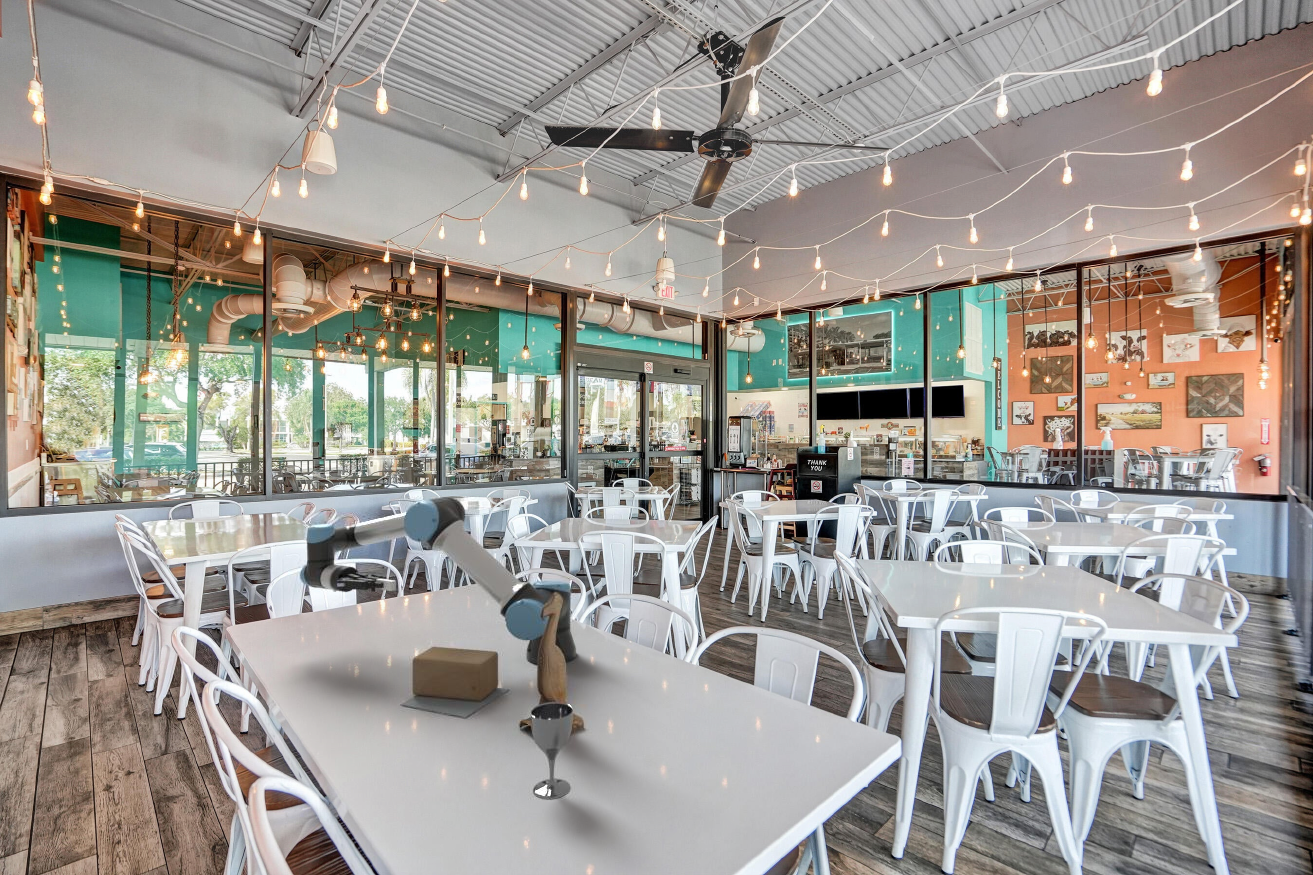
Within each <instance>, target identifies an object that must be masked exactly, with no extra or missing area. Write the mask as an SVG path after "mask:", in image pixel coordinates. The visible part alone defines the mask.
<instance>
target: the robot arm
mask: <svg viewBox="0 0 1313 875" xmlns="http://www.w3.org/2000/svg"><path fill="white" fill-rule="evenodd" d="M465 520H466V510H465V507H464V506H463V503H461V501H459V500H458V499H457V498H454V497H451V496H444V497H436V498H432V499H422V500H419V501H417V502H414V503H413V504H411V505H410V506H409V507H408V508H407V510H406V512H403V513H399V514H393V515H389V516H385V517H381V518H376V519H372V520H369V521H368V520H367V521H364V522H359V523H354V524H349V525H346V526H340V527H336V528H335V526H334V525H333V524H330V523H327V524H326V523H323V524H314V525H310V526H309V527H308V528H307V530H306V531H307V533H306V560H307V562H306V564H305V565H303V567H301V570H300V572H299V579H300V581H301V583H302V584H303V585H306V586H309V587H311V588H315V589H324V590H332V591H333V592H342V593H349V592H352V591H354V590H357V591H358V590H359V591H368V590H369V589H370V591H371V593H372V592H376V590H382V591H387V592H388V591H389V592H395V591H396V590H397V584H396V582H397V581H396V580H395V579H393V580H392V579H388V576H384V575H383V574H382V575H381V574H378V573H377V572H371V573H370V574H368V573H363V572H360V571H358V569H357V568H355V567H353V566H347V565H343V564H342V565H341V564H335V553H337V552H342V551H346V550H350V549H356V548H360V547H363V546H368V545H371V544H377V543H381V542H387V541H391V540H395V539H399V538H405V537H409V538H410V539H411V540H412V541H414V542H418V543H425V544H426V545H427V546H428V547H429V548H430V549H431V550H432V551H434V552H438V551H442V552H443V554H445V556H447V557H448V558H449V559H450V560H451V561H452V562H453V563H454V564H455V565H457V566H458V567H459V569H461V570H462V571H463V573H465V574H466V575H467V576H468V577H469V578H470V579H471V580H472V581H473V582H475V583H476V585H478V587H480V588H481V589H482V590H483V591H484V592H485V593H486V594H487V595H488V596H489V597H490V598H491V599H492V600H494V601H495V602H496V604H498V605H499V614H500V615H501V616H502V617H503V618H504V621H505V626H506V629H507V630H508V632H509V633H510V635H512V637H514V638H516V639H518V640H520V641H529V642H528V644H527V647H526V652H525V653H526V656H525V657H526V660H527V661H528V662H530V663H533V664H537V663H538V651H539V647H540V643H541V639H542V636H543V633H544V630H545V627H546V624H547V621H548V618H549V616H547V617H545V618H541V612H542V609H543V606H544V605H545V604H546V603H547V602H548V601H549V599H550V598H551V596H552V594H553V593H555V592H558V593H560V595H561V597H562V600H563V604H562V608H561V611H560V615H559V619H558V625H557V630H556V640H555V645H556V646H557V647H559V649H560V650H561V651H562V653H563V655H564V657H565V662H566V663H567V662H571V661H573V659H575V658H576V656H577V647H576V644H575V641H574V638H573V634H572V632H571V603H572V602H571V598H572V597H571V596H572V592H571V585H570V583H569V582H566V581H560V580H559V581H558V580H541V581H539V580H538V581H534V582H533V583H532V584H531V583H530V582H528V581H525V582H522V581H520V580H519V579H518V578H517V577H515V575H513V574H512V573H511V572H510V571H509V570H508V569H507V568H506V567H505V566H504V564H502V563H501V562H500V561H498V559H496V558H495V557H494V556H493V555H492V554H491V553H490V552H489V551H488V550H487V549H486V548H484V546H482V545H481V544H480V543H479V542H478V541H477V539H475V538H474V537H473V536H472V535H470V533H468V532H467V530H465V529H464V522H465Z"/></svg>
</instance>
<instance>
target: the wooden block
mask: <svg viewBox="0 0 1313 875" xmlns="http://www.w3.org/2000/svg"><path fill="white" fill-rule="evenodd" d="M498 685H499V654H498V652H497V651H493V650H492V651H491V650H478V649H469V648H468V649H465V648H456V647H455V648H453V647H441V646H432V647H430V648H428V649H426V650H425V651H423V652H421V653H419V654H418V655H416V656H414V657H413V659H412V694H413V695H414V696H417V695H422V696H432V697H442V698H452V699H463V700H473V701H481V700H483V699H484V698H485V697H487V696H488V695H489V694H490V693H491V692H493V691H494V690H495V689H496V688H497V687H498Z"/></svg>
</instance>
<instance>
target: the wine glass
mask: <svg viewBox="0 0 1313 875" xmlns="http://www.w3.org/2000/svg"><path fill="white" fill-rule="evenodd" d="M573 712H574V710H573V707H572V705H570V704H568V703H567V702H566V703H562V702H548V703H543V704H540V705H539V704H537V705H536V706H533V708H532V709H531V711H530V717H531V726H530V727H531V728H530V729H531V733H532V737H533V738H532V739H533V742H534V743H535V745H536V746H537V747H538V748H539V750H541V751H542V753H543V754H545V756H546V759H547V762H548V767H549V778H546V779H543V780H541V781H539V782H537V783H536V784H535V785H534V786H533V789H532V794H533V795H534V796H535V797H537V798H539V799H542V800H555V799H560V798H562V797H564V796H566V795H567V794H568V793H569V792H570V791H571V785H570V782H568V781H567V780H564V779H561V778H555V775H554V774H555V764H556V759H557V756H558V754H559V753H560V752H561V751H562V750H563V748H564V747H565V746H566V745H567V743H568V742H569V739H570V737H571V734H572V733H571V730H572V722H573V714H574V713H573Z"/></svg>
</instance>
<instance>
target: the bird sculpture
mask: <svg viewBox="0 0 1313 875" xmlns="http://www.w3.org/2000/svg"><path fill="white" fill-rule="evenodd" d="M562 604H563V600H562V597H561V595H560V593H558V592H555V593H553V594H552V596H551V598H550V599H549V601H548V602H547V603H546V604H545V605H544V606H543V609H542V612H541V618H545V617H547V616H549V618H548V621H547V624H546V627H545V630H544V633H543V636H542V639H541V643H540V647H539V651H538V663H537V667H536V668H537V669H536V670H537V672H536V674H537V675H536V685H537V686H536V687H537V691H538V693H539V695H540V699H539V702H538V705H540V704H543V703H548V702H562V703H566V704H567V662H565V657H564V655H563V653H562V651H561V650H560V649H559V647H557V646H556V645H555V640H556V630H557V625H558V619H559V615H560V611H561V608H562ZM518 725H519V729H521V728H524V727H525V726H530V727H531V716H530V717H527V718H525V719H522V720H521V721H519V724H518ZM584 725H585V721H584V719H583V717H581V716H579V715H577V714H575V713H573V722H572V730H571V734H574V733H575V732H579V731H581V730H582V728H583V729H584V728H585V726H584ZM578 730H579V731H578Z"/></svg>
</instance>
